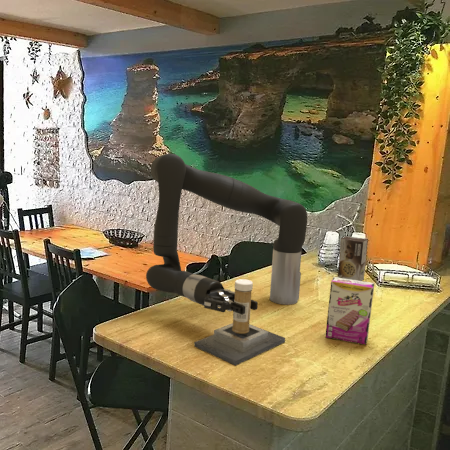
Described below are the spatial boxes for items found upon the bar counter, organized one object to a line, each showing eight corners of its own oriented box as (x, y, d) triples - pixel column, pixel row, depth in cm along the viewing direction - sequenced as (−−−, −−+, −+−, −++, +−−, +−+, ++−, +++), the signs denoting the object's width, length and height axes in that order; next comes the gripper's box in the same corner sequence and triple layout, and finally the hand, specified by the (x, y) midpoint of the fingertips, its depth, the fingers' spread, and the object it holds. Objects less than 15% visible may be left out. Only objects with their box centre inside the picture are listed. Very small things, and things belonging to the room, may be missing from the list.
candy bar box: (324, 338, 135) (330, 280, 132) (327, 331, 139) (332, 276, 136) (367, 346, 131) (373, 287, 128) (368, 339, 136) (374, 282, 133)
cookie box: (364, 279, 193) (368, 239, 190) (359, 283, 188) (363, 241, 185) (342, 274, 198) (345, 235, 195) (336, 278, 192) (340, 238, 189)
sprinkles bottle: (251, 329, 129) (255, 280, 126) (245, 336, 125) (249, 285, 122) (235, 326, 130) (239, 277, 128) (228, 332, 126) (232, 281, 124)
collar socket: (244, 326, 140) (245, 314, 139) (285, 342, 131) (286, 329, 130) (194, 346, 125) (194, 332, 125) (235, 365, 116) (236, 351, 116)
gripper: (184, 282, 130) (232, 300, 118) (221, 273, 140) (269, 288, 129) (183, 309, 131) (230, 329, 120) (219, 298, 141) (266, 315, 130)
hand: (250, 308), depth 124 cm, fingers closed on sprinkles bottle, 4 cm apart
